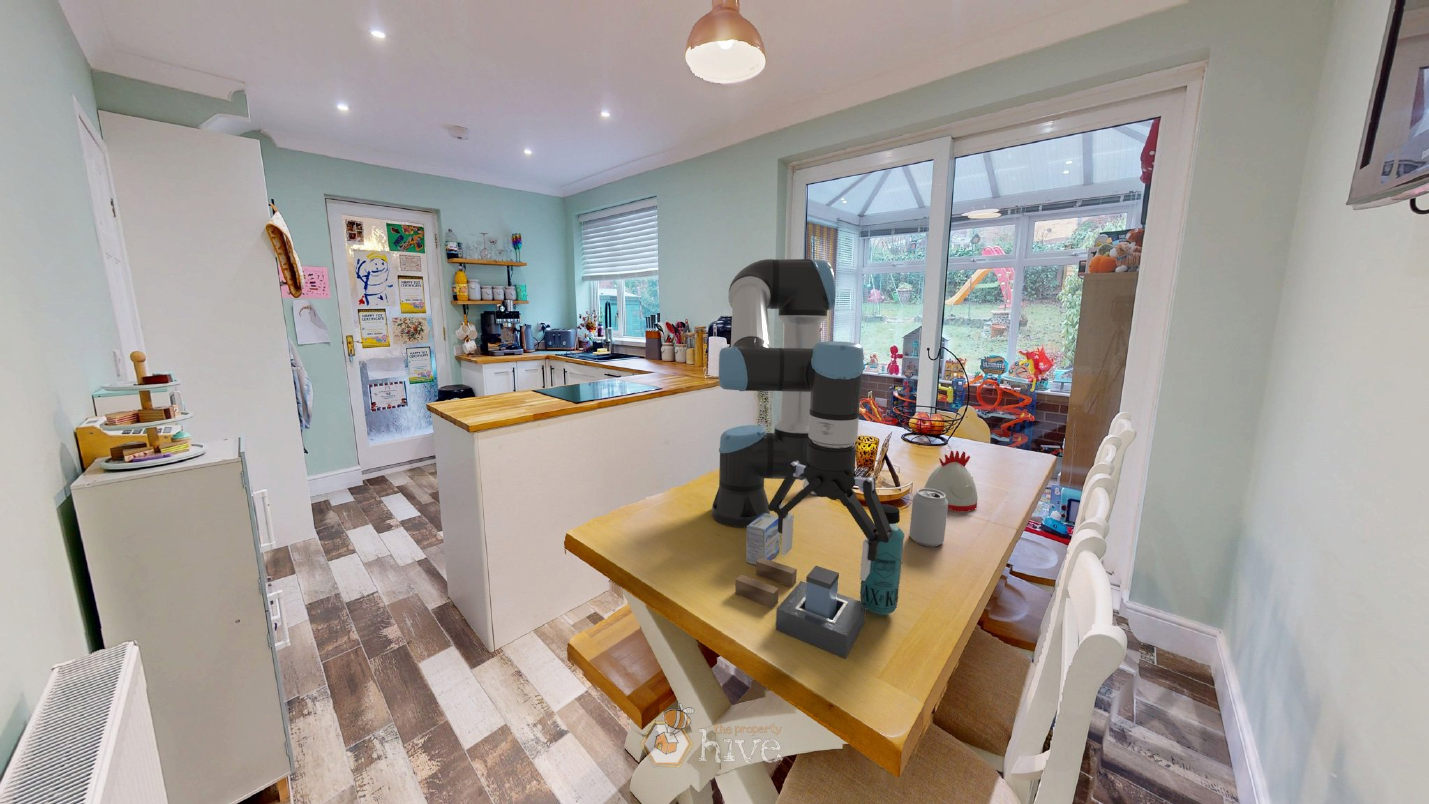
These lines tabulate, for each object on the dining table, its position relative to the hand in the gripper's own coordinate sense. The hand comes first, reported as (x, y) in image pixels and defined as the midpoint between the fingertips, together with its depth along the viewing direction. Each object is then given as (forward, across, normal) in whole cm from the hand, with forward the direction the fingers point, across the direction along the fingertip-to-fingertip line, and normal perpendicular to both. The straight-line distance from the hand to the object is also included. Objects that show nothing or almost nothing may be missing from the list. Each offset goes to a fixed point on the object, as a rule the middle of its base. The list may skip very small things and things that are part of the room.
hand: (823, 563), depth 80 cm
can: (+13, +9, +43) cm, 46 cm away
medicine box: (+12, -19, +14) cm, 27 cm away
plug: (+12, 0, -1) cm, 12 cm away
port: (+12, 0, -1) cm, 12 cm away
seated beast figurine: (+13, -24, +57) cm, 63 cm away
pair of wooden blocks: (+12, -13, +4) cm, 18 cm away
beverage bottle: (+12, +7, +9) cm, 17 cm away
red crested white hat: (+13, +10, +72) cm, 74 cm away
